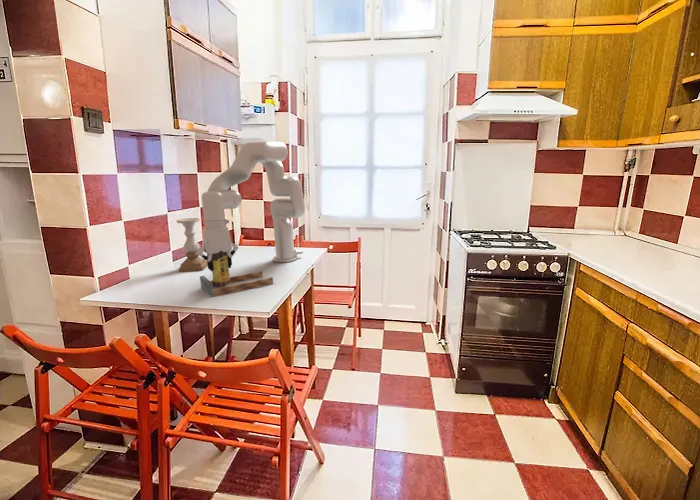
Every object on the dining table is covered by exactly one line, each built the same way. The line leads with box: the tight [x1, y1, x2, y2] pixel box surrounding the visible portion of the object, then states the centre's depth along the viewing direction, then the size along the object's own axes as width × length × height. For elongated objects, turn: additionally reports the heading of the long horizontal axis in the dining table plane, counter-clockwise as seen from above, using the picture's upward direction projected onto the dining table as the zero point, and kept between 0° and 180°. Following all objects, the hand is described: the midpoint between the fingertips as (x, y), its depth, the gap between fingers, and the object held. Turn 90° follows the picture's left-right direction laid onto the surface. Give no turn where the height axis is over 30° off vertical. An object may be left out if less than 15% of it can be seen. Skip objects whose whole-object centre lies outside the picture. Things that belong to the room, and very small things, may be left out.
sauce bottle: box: [211, 251, 231, 286], centre depth 145 cm, size 7×6×20 cm
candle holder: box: [176, 217, 208, 273], centre depth 176 cm, size 11×11×24 cm
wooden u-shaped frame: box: [199, 270, 274, 298], centre depth 150 cm, size 26×13×5 cm, turn 124°
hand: (220, 268), depth 145 cm, fingers closed on sauce bottle, 6 cm apart
